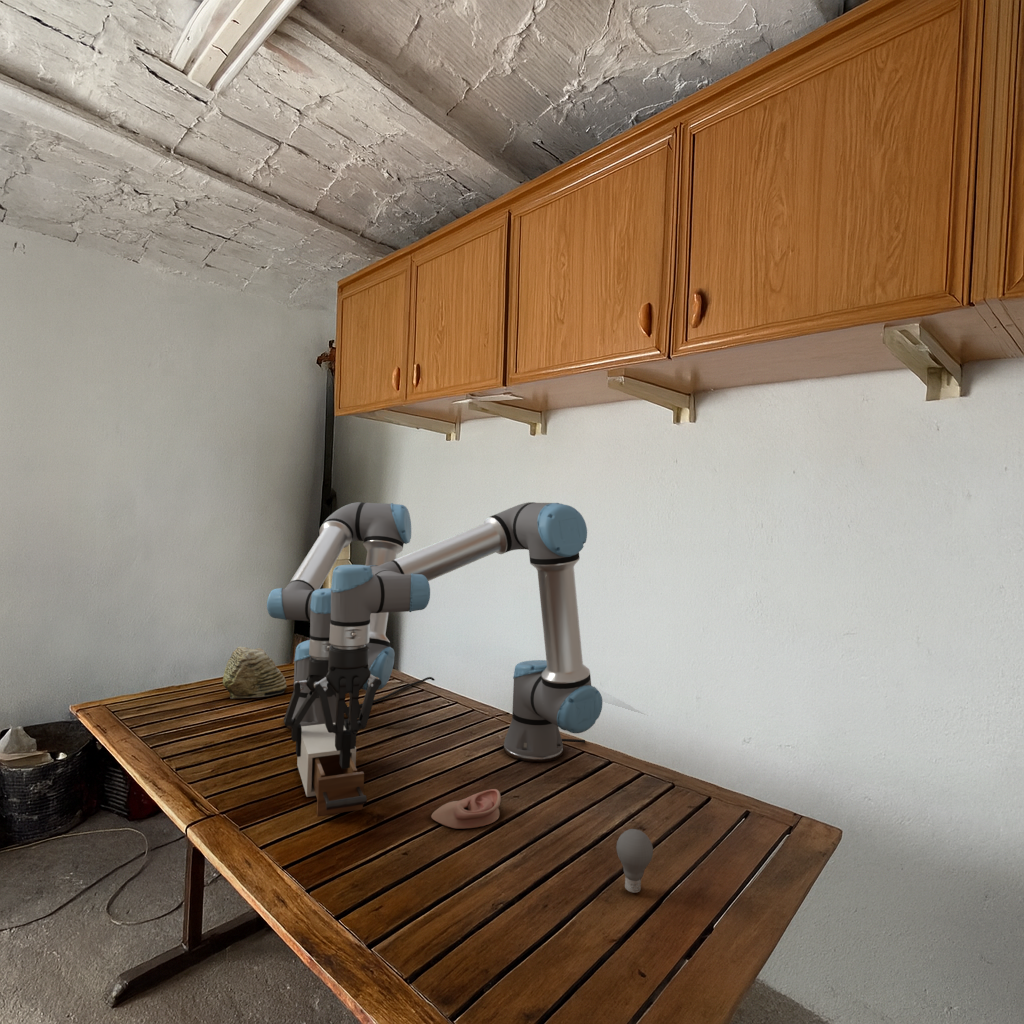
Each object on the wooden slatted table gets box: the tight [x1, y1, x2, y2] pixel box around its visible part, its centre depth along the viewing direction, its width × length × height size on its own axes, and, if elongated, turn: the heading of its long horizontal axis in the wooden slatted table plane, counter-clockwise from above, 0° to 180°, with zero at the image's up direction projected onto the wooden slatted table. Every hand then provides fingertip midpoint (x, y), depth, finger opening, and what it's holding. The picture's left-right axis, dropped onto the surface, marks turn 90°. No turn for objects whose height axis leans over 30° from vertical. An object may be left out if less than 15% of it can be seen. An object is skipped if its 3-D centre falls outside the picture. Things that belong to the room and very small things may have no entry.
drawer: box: [312, 754, 368, 818], centre depth 130 cm, size 22×9×7 cm, turn 25°
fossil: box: [222, 646, 288, 699], centre depth 198 cm, size 9×18×15 cm, turn 132°
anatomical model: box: [430, 788, 502, 830], centre depth 128 cm, size 13×4×12 cm
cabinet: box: [296, 723, 357, 798], centre depth 143 cm, size 17×10×9 cm, turn 25°
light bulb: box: [615, 828, 654, 894], centre depth 106 cm, size 6×6×10 cm
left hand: (322, 751), depth 147 cm, fingers closed on cabinet, 10 cm apart
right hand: (344, 765), depth 123 cm, fingers closed
